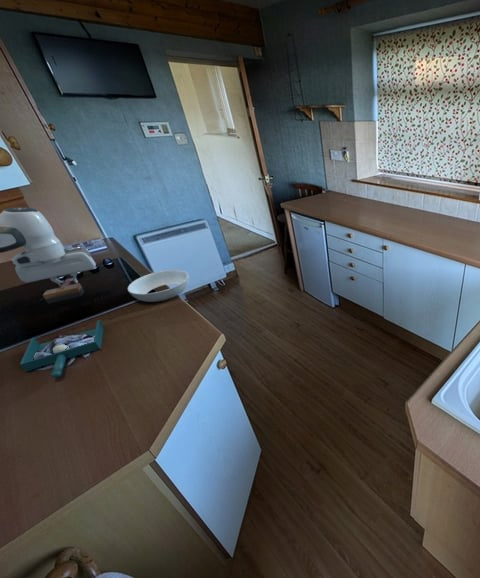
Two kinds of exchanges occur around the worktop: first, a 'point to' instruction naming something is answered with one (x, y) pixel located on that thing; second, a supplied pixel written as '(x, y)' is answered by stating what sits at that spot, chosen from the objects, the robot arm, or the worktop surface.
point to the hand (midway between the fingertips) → (69, 284)
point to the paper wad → (60, 348)
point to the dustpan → (61, 356)
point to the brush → (63, 292)
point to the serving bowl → (157, 279)
